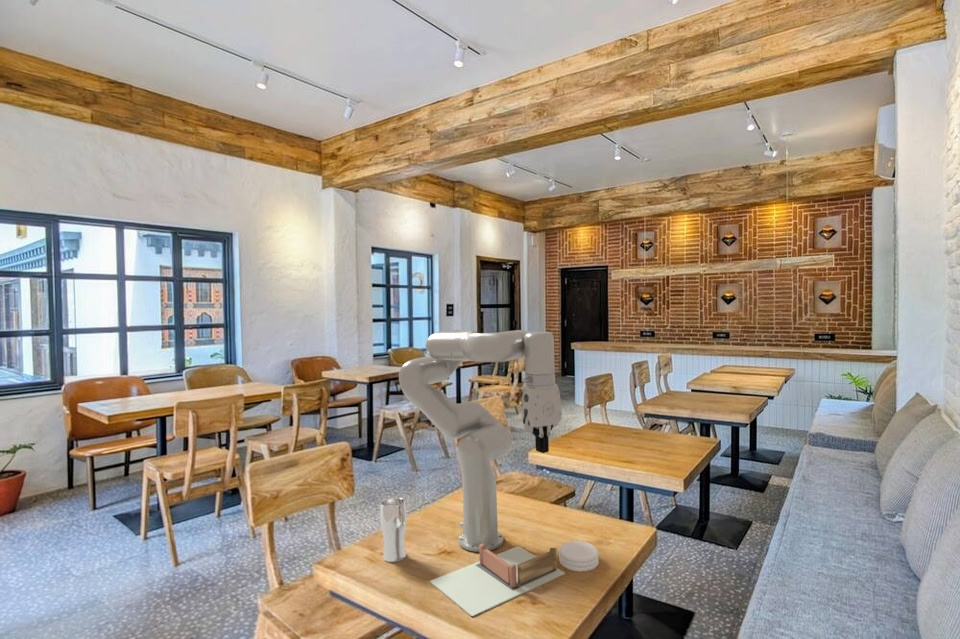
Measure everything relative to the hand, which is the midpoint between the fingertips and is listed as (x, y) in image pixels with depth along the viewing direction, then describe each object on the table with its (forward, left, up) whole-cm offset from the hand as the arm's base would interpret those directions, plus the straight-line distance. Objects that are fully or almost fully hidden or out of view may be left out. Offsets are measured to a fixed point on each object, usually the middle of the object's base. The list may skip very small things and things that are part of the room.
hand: (542, 451), depth 133 cm
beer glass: (-28, -29, -29) cm, 50 cm away
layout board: (-2, -14, -29) cm, 32 cm away
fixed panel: (+4, -7, -29) cm, 30 cm away
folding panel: (-2, -14, -28) cm, 32 cm away
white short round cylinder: (+5, +7, -30) cm, 31 cm away
